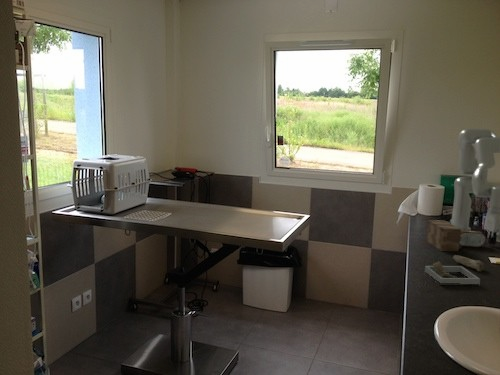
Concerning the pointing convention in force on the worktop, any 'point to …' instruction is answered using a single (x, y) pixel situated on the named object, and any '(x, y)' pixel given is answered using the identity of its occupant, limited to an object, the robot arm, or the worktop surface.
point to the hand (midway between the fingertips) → (491, 243)
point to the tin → (472, 238)
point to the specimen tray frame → (470, 280)
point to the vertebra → (441, 270)
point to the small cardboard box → (443, 235)
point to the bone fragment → (470, 262)
